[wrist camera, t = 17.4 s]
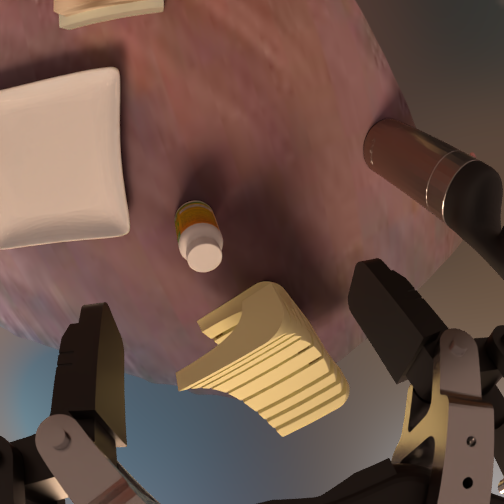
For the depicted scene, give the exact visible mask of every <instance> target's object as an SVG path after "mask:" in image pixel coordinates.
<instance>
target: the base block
mask: <svg viewBox="0 0 504 504" xmlns="http://www.w3.org/2000/svg"><path fill="white" fill-rule="evenodd" d="M163 9H164V0H144V1H137V2H130V3H125V4H119V5H114V6H109V7H104V8H99V9H95V10H91V11H86V12H82V13H79V14H75V15H71V16H68V17H66V16H63V15H61V14H59V27H60V28H64V29H68V30H71V29H74V28H78V27H82V26H86V25H90V24H94V23H99V22H103V21H108V20H113V19H118V18H124V17H130V16H136V15H143V14H150V13H158V12H163Z"/></svg>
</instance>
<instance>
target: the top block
mask: <svg viewBox="0 0 504 504" xmlns="http://www.w3.org/2000/svg"><path fill="white" fill-rule="evenodd" d="M137 1H144V0H54V12H56V13H58V14H61V15H63V16H66V17H68V16H71V15H75V14H79V13H82V12H86V11H91V10H95V9H99V8H104V7H109V6H114V5H119V4H125V3H130V2H137Z"/></svg>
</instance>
